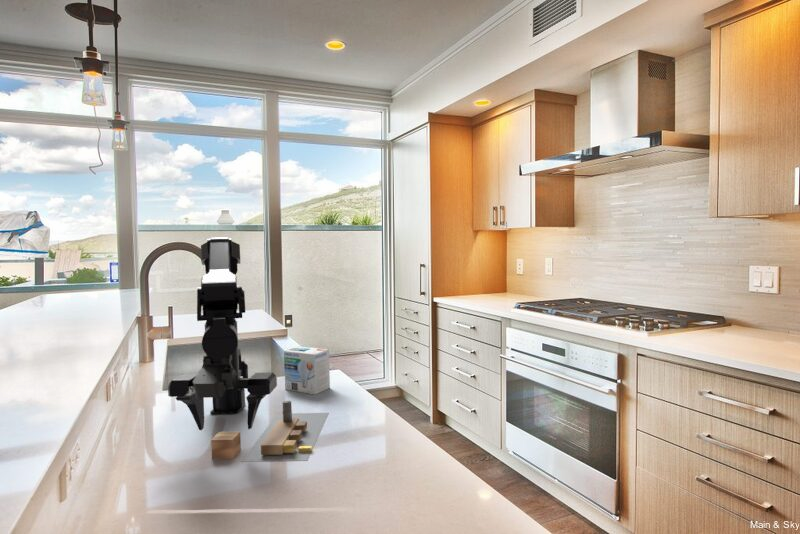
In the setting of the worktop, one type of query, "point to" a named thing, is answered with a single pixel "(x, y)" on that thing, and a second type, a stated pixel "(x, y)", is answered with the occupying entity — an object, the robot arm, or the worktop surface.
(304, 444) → the base plate
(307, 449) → the pointer
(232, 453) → the yellow-striped wooden block
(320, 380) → the light bulb box
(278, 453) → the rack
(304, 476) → the worktop surface
